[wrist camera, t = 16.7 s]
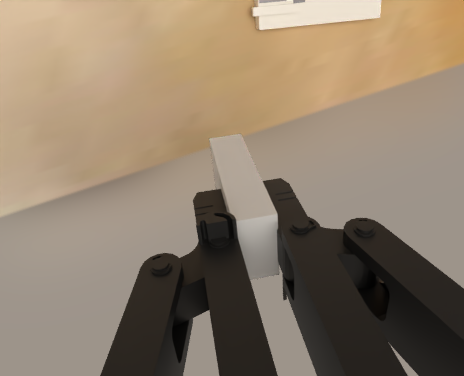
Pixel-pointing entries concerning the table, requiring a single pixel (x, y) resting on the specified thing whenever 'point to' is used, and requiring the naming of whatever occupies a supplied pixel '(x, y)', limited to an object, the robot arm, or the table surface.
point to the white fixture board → (311, 12)
